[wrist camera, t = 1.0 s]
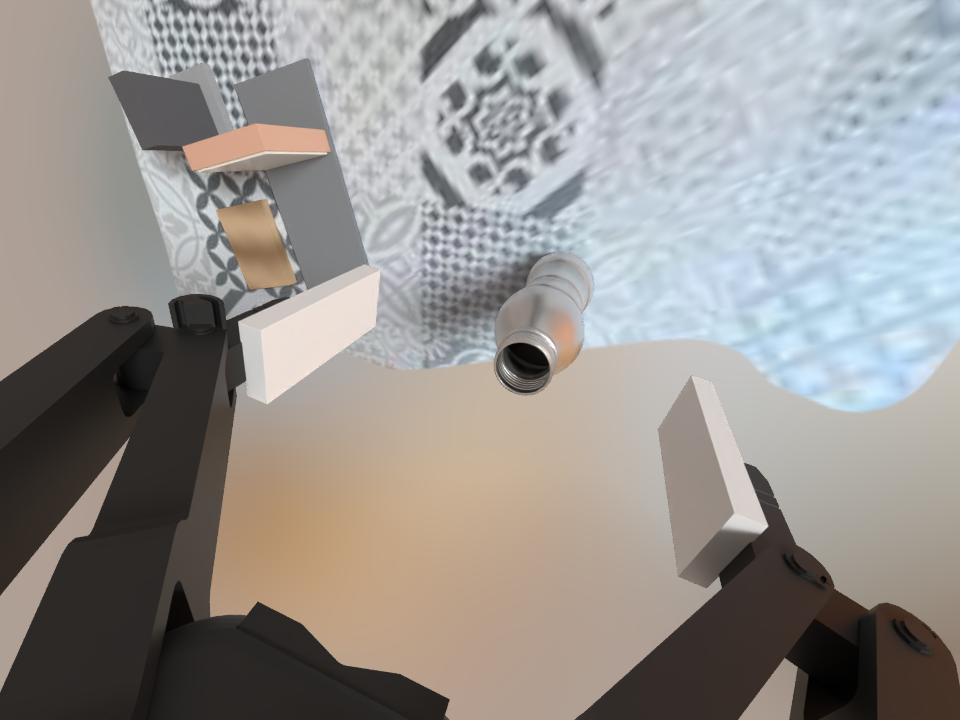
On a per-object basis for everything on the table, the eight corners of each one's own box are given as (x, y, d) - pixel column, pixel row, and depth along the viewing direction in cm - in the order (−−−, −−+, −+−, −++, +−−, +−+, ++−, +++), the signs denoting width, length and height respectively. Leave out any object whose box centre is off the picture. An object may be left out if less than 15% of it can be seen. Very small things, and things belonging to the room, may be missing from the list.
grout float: (178, 77, 43) (89, 62, 36) (210, 64, 41) (124, 45, 34) (214, 167, 47) (141, 169, 40) (245, 159, 45) (174, 159, 38)
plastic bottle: (530, 308, 42) (471, 408, 26) (533, 244, 39) (469, 309, 22) (591, 314, 41) (572, 425, 24) (599, 247, 38) (584, 320, 21)
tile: (259, 148, 43) (182, 146, 36) (324, 129, 40) (255, 123, 32) (266, 170, 44) (193, 173, 36) (331, 153, 41) (265, 152, 33)
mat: (238, 85, 41) (234, 84, 41) (309, 59, 38) (305, 58, 38) (310, 288, 50) (307, 289, 50) (373, 281, 47) (371, 282, 46)
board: (224, 208, 49) (215, 210, 48) (266, 199, 46) (258, 200, 45) (256, 287, 53) (249, 289, 52) (297, 282, 50) (290, 284, 49)
